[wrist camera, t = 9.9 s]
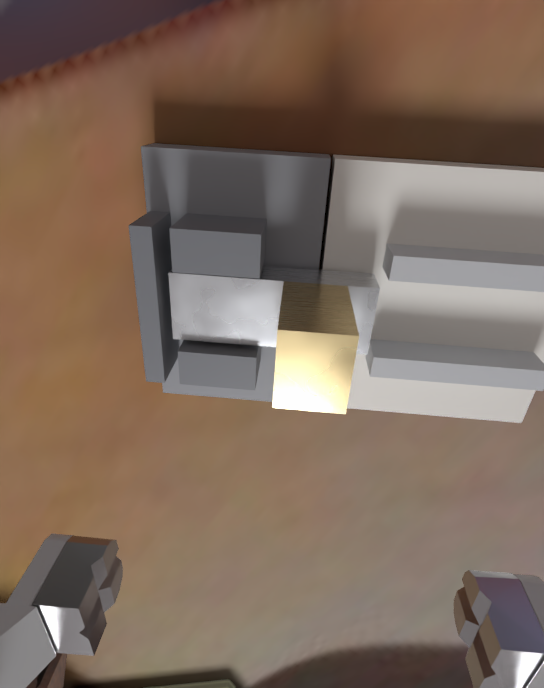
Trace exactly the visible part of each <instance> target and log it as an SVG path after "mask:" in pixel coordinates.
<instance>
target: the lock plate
mask: <svg viewBox="0 0 544 688" xmlns="http://www.w3.org/2000/svg"><path fill="white" fill-rule="evenodd" d="M141 153H142V164H143V175H144V186H145V197H146V208H147V214H145V215H144V216H142V217H141V218H139V219H138V220H136V221H135V222H133V223H131V224H130V225H129V233H130V242H131V251H132V260H133V269H134V278H135V286H136V295H137V304H138V313H139V322H140V331H141V340H142V349H143V357H144V366H145V375H146V381H149V382H161V383H162V385H163V393H175V394H187V395H199V396H210V397H222V398H234V399H246V400H258V401H269V402H273V389H274V374H275V359H276V347H266V346H254V345H241V344H229V343H216V342H204V341H191V340H179V339H173V332H172V318H171V303H170V289H169V275H168V272H169V271H170V270H171V269H172V272H176V273H190V274H203V275H216V276H230V277H243V278H257V279H260V275H261V271H262V268H263V266H275V267H289V268H302V269H316V270H319V262H320V253H321V244H322V235H323V226H324V217H325V208H326V198H327V189H328V180H329V171H330V162H331V158H330V156H329V154H316V153H301V152H285V151H269V150H253V149H237V148H221V147H206V146H190V145H174V144H158V143H153V144H149V145H145V146H141ZM320 270H330V271H343V272H357V273H371V274H374V275H375V277H376V280H377V282H378V285H379V287H380V291H379V296H378V302H377V307H376V312H375V318H374V323H373V328H372V333H371V339H370V344H369V349H368V355H366V354H356V358H355V364H354V369H353V375H352V381H351V387H350V393H349V398H348V404H347V408H352V409H363V410H375V411H387V412H399V413H411V414H422V415H434V416H446V417H458V418H469V419H481V420H493V421H505V422H517V423H522V421H523V418H524V416H525V414H526V411H527V409H528V407H529V405H530V402H531V400H532V398H533V395H534V393H535V391H536V390H539V391H543V389H544V168H538V167H523V166H507V165H491V164H475V163H459V162H443V161H427V160H412V159H396V158H380V157H364V156H348V155H333V158H332V167H331V176H330V185H329V194H328V203H327V212H326V221H325V230H324V239H323V248H322V257H321V266H320Z"/></svg>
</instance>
